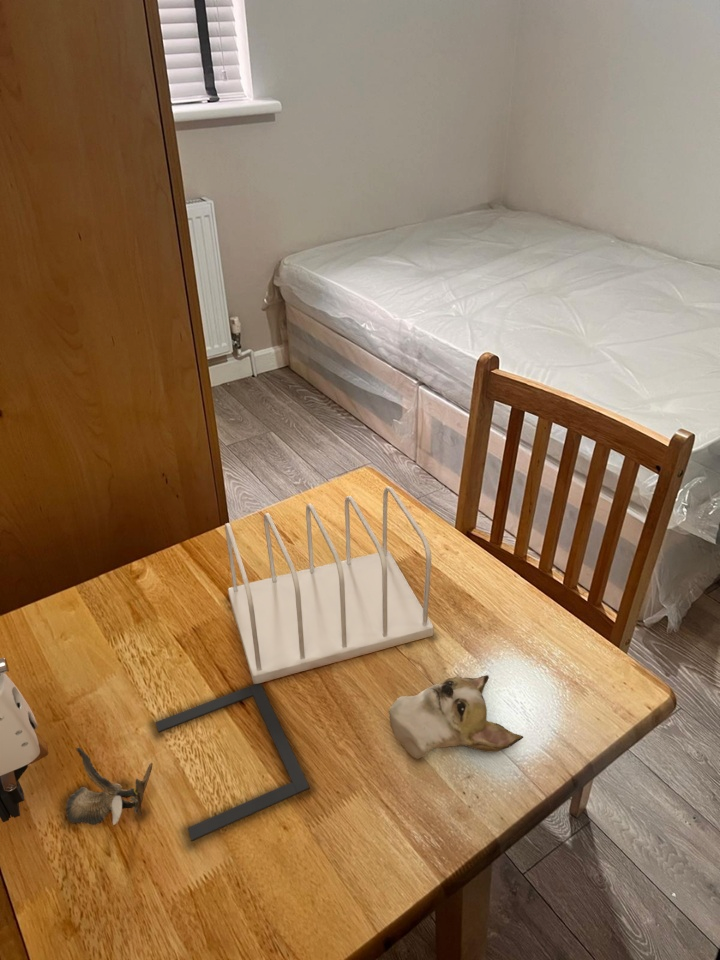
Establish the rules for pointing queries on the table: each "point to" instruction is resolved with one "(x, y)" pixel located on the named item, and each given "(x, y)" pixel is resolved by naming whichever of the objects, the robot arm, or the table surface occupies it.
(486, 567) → the table surface
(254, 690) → the frame
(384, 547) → the file sorter
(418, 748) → the ceramic sculpture
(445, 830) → the table surface
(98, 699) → the table surface
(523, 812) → the table surface
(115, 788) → the eagle figurine
